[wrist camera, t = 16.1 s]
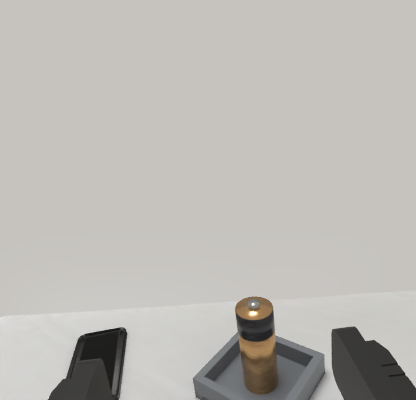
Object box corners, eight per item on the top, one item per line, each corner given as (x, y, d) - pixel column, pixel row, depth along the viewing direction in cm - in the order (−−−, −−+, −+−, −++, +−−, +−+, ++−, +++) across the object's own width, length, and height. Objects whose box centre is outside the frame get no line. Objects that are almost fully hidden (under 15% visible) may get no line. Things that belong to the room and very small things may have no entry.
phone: (126, 326, 60) (117, 399, 46) (127, 331, 61) (119, 406, 47) (78, 335, 60) (54, 412, 46) (80, 340, 60) (56, 419, 46)
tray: (196, 396, 46) (192, 378, 45) (247, 340, 55) (245, 323, 54) (280, 447, 39) (278, 426, 38) (324, 372, 47) (324, 354, 46)
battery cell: (236, 384, 46) (227, 306, 42) (255, 362, 49) (247, 288, 46) (267, 400, 43) (259, 318, 40) (284, 375, 47) (279, 298, 43)
